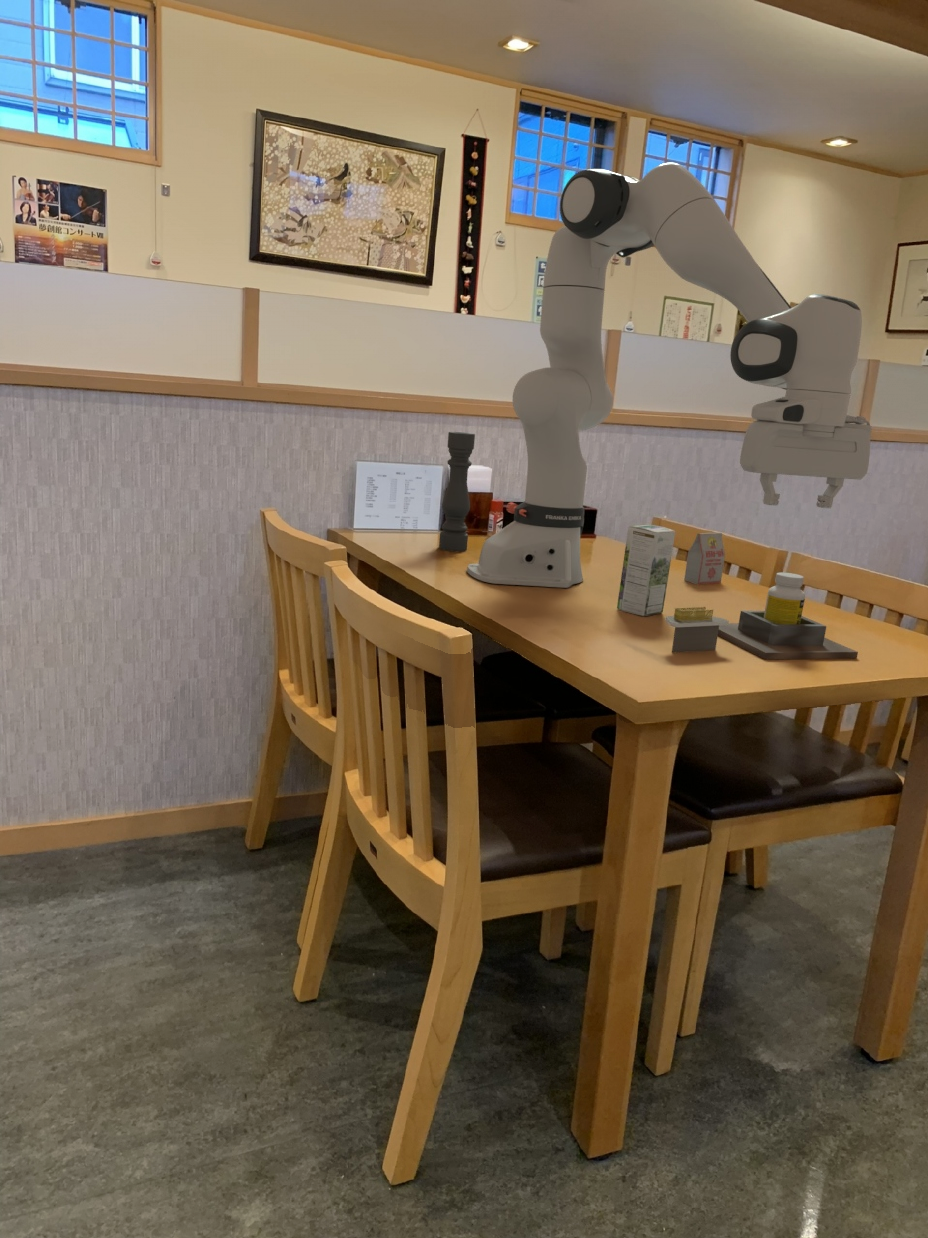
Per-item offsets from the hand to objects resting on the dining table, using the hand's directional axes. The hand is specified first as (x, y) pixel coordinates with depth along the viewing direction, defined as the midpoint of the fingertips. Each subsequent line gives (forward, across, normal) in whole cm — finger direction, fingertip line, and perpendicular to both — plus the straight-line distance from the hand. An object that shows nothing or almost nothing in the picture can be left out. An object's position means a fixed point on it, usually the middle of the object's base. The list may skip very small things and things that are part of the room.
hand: (797, 506), depth 135 cm
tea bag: (+22, -13, -42) cm, 49 cm away
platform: (+22, +17, +4) cm, 28 cm away
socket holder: (+21, 0, +2) cm, 21 cm away
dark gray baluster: (+22, +32, -71) cm, 81 cm away
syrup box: (+22, +14, -17) cm, 31 cm away
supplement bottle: (+20, 0, +2) cm, 20 cm away
